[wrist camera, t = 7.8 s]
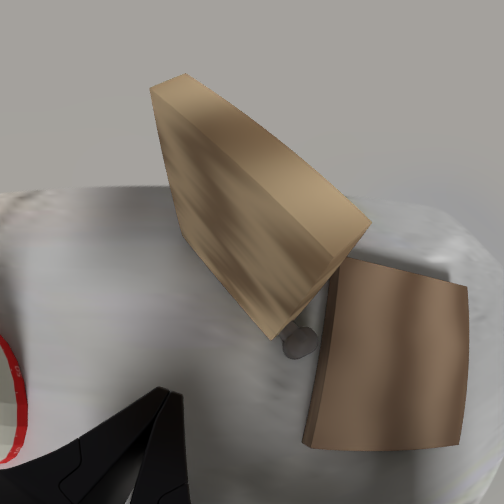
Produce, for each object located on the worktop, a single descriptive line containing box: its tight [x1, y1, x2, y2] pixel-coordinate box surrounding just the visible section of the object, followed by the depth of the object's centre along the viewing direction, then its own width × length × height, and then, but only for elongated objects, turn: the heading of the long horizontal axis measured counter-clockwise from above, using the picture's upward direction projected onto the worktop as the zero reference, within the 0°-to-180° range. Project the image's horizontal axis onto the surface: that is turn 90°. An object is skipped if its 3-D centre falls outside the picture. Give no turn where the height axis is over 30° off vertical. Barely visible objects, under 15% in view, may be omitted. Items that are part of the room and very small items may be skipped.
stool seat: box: [302, 257, 469, 451], centre depth 20 cm, size 13×14×2 cm
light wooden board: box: [150, 73, 372, 359], centre depth 16 cm, size 13×2×14 cm, turn 40°
